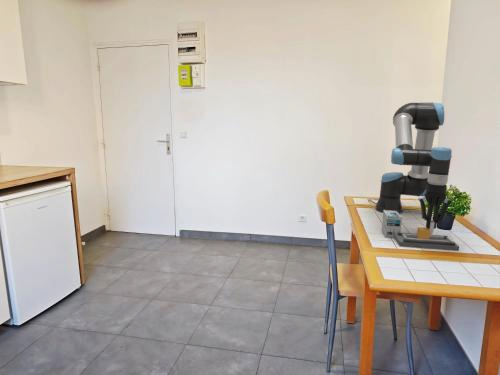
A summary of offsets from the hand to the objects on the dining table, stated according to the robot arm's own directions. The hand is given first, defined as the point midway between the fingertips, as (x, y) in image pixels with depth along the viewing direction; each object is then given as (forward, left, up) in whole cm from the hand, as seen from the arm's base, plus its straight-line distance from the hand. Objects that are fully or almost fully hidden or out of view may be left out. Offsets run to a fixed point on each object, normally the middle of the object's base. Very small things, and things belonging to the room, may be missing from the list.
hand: (429, 235), depth 147 cm
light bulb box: (-11, -14, -5) cm, 18 cm away
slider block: (0, -3, -2) cm, 3 cm away
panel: (0, -2, -4) cm, 5 cm away
